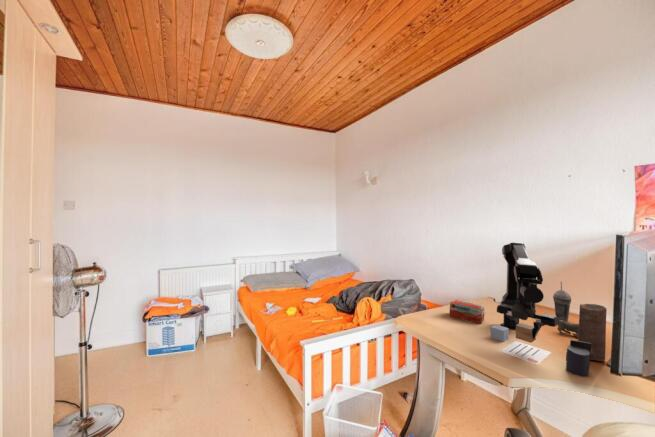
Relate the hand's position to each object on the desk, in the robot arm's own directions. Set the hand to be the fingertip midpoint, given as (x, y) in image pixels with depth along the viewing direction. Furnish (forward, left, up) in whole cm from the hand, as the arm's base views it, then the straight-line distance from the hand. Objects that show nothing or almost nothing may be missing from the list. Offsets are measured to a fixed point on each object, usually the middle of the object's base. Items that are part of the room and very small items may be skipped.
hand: (525, 336), depth 104 cm
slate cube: (-5, -11, -6) cm, 14 cm away
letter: (0, 0, -6) cm, 6 cm away
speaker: (+2, +16, -6) cm, 17 cm away
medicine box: (-18, -32, -7) cm, 37 cm away
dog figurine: (-37, +7, -7) cm, 38 cm away
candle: (-15, +16, -6) cm, 23 cm away
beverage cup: (-57, -2, -6) cm, 58 cm away
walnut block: (0, 0, -1) cm, 1 cm away
